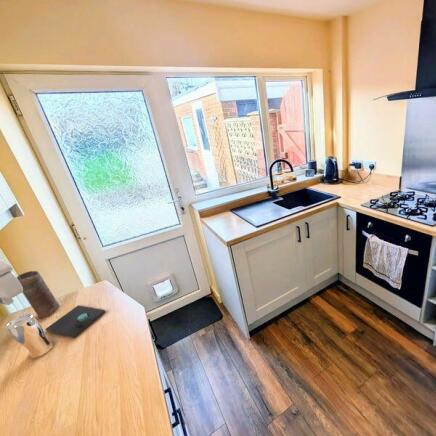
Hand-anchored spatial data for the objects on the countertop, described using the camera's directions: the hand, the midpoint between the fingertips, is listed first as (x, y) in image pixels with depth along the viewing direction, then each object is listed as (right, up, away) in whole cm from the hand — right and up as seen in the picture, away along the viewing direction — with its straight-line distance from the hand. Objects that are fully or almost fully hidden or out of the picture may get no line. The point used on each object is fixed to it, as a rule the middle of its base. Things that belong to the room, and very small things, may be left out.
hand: (7, 302), depth 81 cm
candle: (-14, -14, +29) cm, 35 cm away
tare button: (+10, -13, +18) cm, 24 cm away
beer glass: (+2, -21, +10) cm, 23 cm away
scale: (+5, -15, +21) cm, 26 cm away
